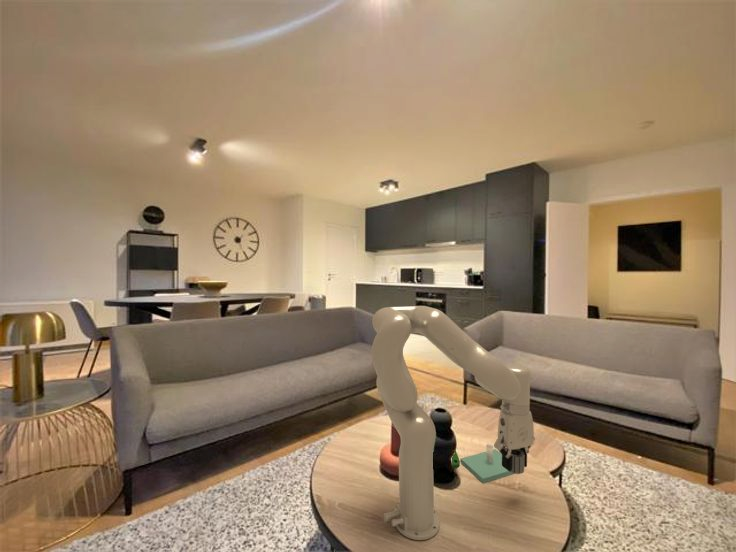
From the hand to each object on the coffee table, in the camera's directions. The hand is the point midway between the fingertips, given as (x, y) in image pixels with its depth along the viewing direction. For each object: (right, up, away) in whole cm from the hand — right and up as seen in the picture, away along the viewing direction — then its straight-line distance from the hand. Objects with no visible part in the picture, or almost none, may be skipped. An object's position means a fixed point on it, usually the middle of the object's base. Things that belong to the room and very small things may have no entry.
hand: (514, 465), depth 95 cm
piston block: (-1, -10, +17) cm, 20 cm away
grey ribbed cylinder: (0, -1, 0) cm, 1 cm away
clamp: (-18, -11, +15) cm, 26 cm away
